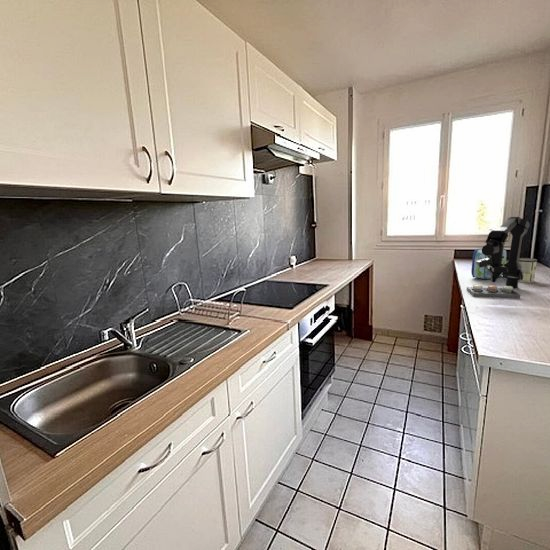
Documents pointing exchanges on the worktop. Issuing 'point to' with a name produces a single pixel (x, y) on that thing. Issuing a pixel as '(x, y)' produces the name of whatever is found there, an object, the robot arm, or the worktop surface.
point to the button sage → (507, 289)
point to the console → (493, 293)
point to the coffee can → (528, 269)
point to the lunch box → (482, 271)
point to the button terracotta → (492, 288)
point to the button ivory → (477, 287)
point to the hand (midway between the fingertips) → (493, 282)
